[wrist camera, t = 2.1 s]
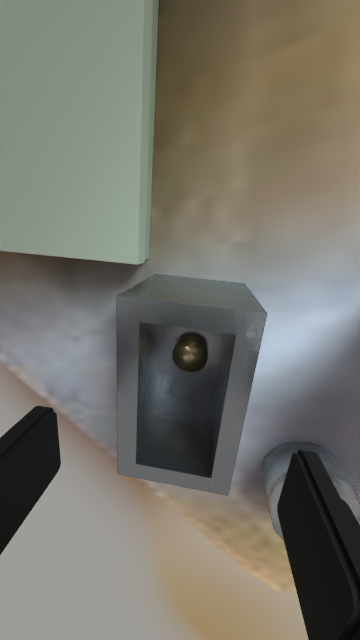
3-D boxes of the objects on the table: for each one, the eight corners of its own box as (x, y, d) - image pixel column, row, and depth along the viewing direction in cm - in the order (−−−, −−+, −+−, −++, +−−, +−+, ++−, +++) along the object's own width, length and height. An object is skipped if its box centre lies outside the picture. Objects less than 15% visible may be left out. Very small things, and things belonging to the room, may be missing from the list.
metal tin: (269, 435, 19) (282, 483, 15) (347, 448, 18) (381, 501, 15) (255, 487, 21) (264, 541, 17) (325, 500, 20) (351, 559, 16)
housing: (156, 274, 16) (116, 295, 10) (244, 283, 15) (267, 313, 9) (150, 395, 19) (117, 474, 13) (223, 406, 19) (228, 495, 12)
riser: (-124, -224, 11) (-311, -481, 7) (181, -267, 9) (158, -624, 5) (-31, 241, 17) (-100, 240, 13) (156, 259, 16) (137, 264, 12)
